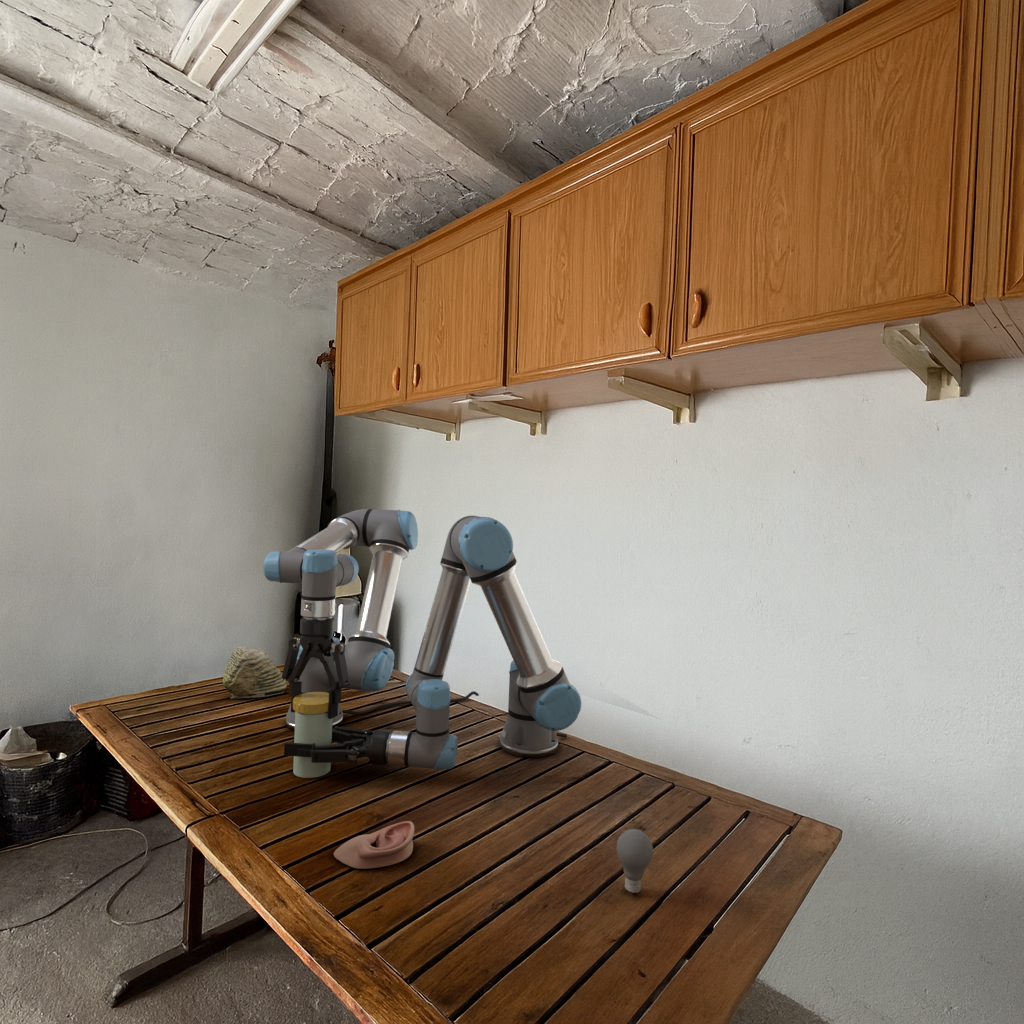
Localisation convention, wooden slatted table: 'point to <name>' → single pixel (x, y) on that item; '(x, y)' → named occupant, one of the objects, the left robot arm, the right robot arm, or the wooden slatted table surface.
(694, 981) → the wooden slatted table surface
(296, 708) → the lid
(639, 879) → the light bulb
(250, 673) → the fossil
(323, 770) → the jar
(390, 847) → the anatomical model
